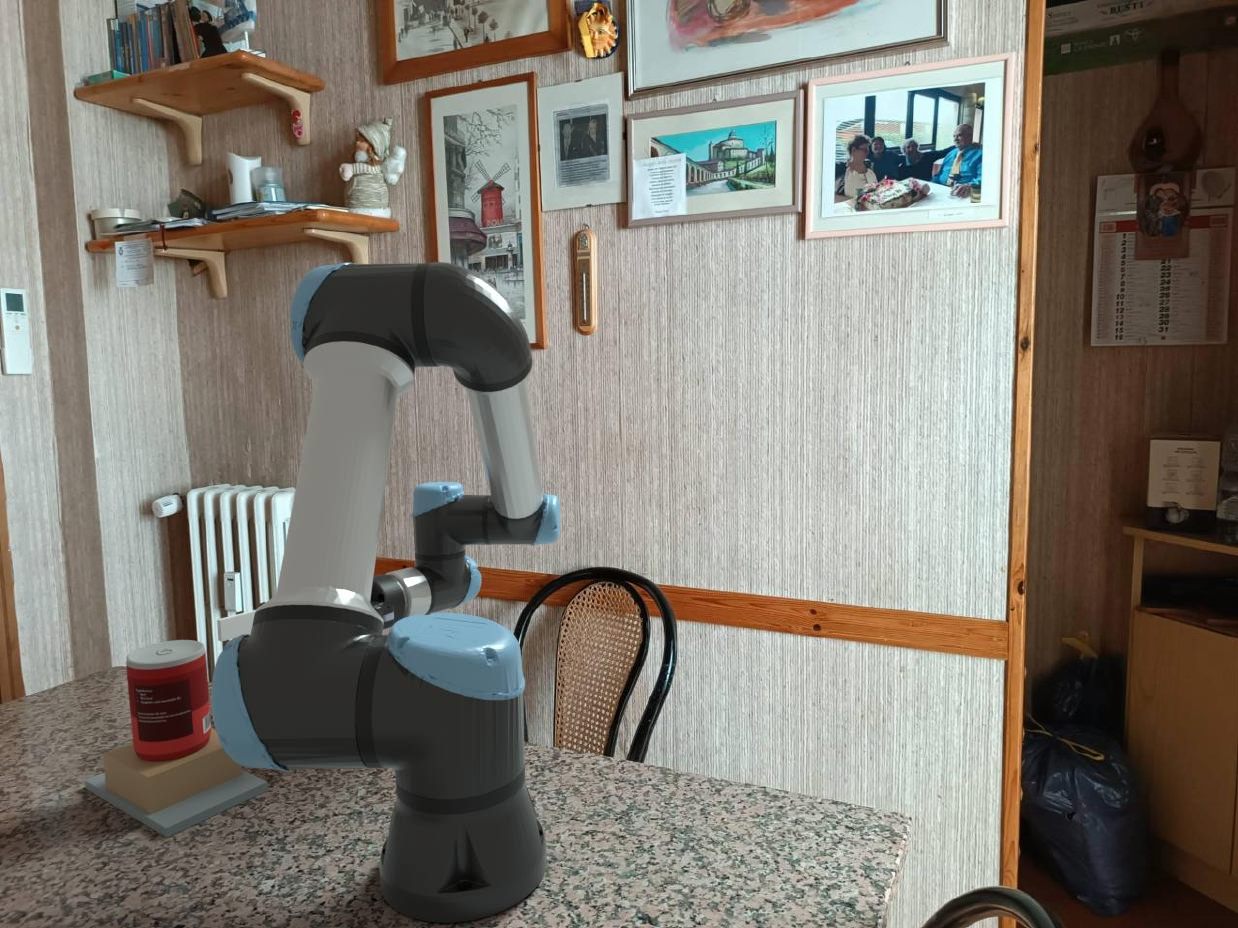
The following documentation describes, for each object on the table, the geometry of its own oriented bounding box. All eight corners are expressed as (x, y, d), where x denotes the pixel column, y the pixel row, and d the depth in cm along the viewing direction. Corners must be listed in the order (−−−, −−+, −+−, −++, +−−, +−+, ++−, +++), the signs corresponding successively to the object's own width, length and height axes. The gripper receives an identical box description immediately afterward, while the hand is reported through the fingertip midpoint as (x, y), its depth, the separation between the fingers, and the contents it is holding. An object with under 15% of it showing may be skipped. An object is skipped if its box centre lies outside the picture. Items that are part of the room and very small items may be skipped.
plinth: (268, 790, 89) (265, 747, 88) (166, 837, 80) (163, 790, 79) (183, 750, 99) (180, 711, 98) (85, 788, 90) (81, 745, 89)
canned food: (191, 725, 94) (184, 635, 93) (226, 742, 90) (219, 647, 88) (120, 749, 88) (112, 653, 87) (153, 769, 84) (145, 668, 82)
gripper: (453, 639, 107) (315, 690, 89) (336, 612, 121) (197, 651, 103) (451, 584, 106) (312, 624, 89) (334, 564, 120) (193, 595, 103)
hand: (249, 639), depth 96 cm, fingers open, 13 cm apart
